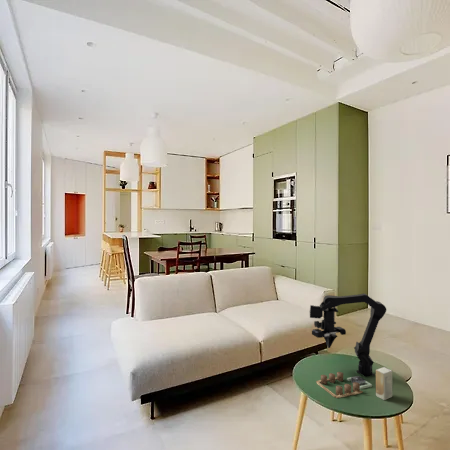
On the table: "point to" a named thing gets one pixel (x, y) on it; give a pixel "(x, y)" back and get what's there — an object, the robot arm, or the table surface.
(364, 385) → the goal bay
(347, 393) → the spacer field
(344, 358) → the table surface
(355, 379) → the grey knob block
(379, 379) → the skincare box
